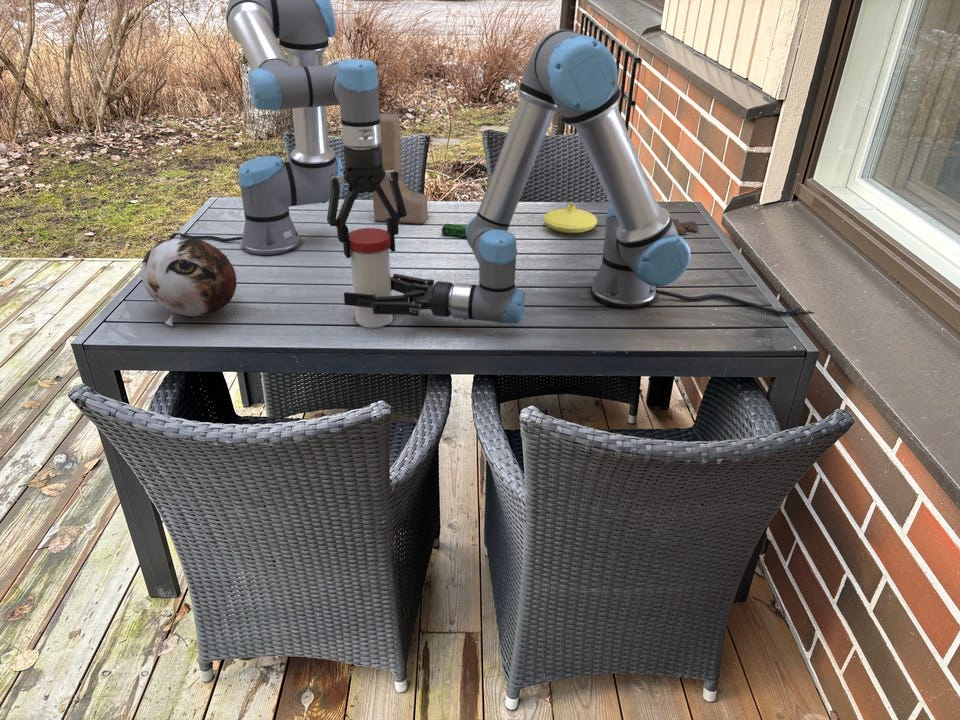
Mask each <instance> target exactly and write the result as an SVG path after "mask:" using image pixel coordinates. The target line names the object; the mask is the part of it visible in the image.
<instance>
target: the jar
mask: <svg viewBox="0 0 960 720" xmlns="http://www.w3.org/2000/svg"><path fill="white" fill-rule="evenodd" d="M350 255H351V258H350V266H351V278H352V279H351V281H352V291H353V292H352V293H358V294H368V295H373V294H374V295H375V297H386V296H393V293H392V292H393V290H392V291H391V277H392V274H391V273H392V272H391V257H390V255H391V254H390V249H389V248H388V249H386V250H383V251H380V252H375V253H360V252H355V251H352V250H350ZM354 313H355V316H354V317H355V323H356V324H357V325H359V326H360V327H364V328H374V329H375V328H381V327H385V326H388V325H389V324H391V323H392V322H393V320H394V315H392V314H373V308H369V307H359V306H354Z"/></svg>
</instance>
